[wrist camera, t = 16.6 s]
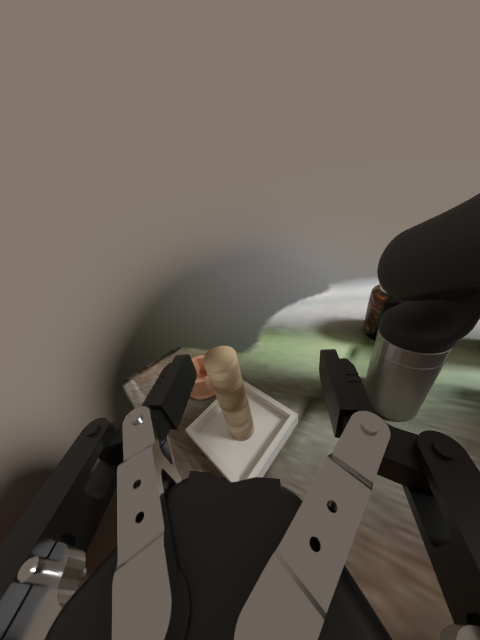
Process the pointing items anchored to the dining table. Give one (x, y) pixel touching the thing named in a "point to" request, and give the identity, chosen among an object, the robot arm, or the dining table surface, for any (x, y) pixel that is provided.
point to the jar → (378, 310)
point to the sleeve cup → (201, 381)
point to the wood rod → (229, 390)
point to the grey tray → (252, 453)
